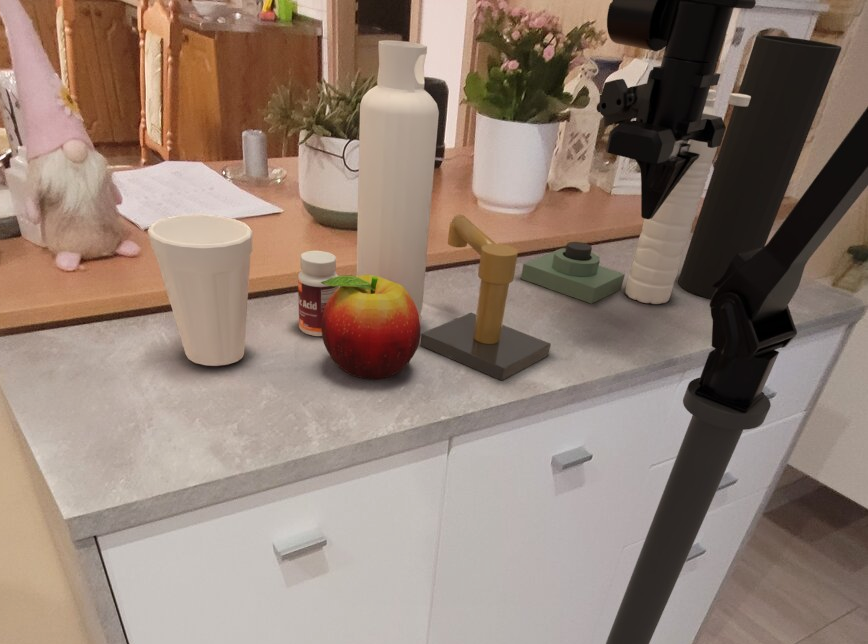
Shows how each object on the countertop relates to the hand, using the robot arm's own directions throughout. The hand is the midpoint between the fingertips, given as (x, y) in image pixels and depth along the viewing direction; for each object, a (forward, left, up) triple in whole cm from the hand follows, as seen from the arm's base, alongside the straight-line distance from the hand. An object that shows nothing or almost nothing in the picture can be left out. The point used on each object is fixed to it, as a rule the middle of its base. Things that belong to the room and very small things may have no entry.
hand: (646, 218), depth 87 cm
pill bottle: (+24, +32, -13) cm, 42 cm away
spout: (+12, +18, -5) cm, 22 cm away
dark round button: (+12, -8, -9) cm, 17 cm away
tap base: (+7, +21, -13) cm, 26 cm away
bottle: (+19, +25, -13) cm, 34 cm away
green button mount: (+12, -8, -13) cm, 19 cm away
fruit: (+13, +35, -13) cm, 40 cm away
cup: (+26, +46, -13) cm, 54 cm away
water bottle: (+1, -13, -13) cm, 19 cm away
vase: (-3, -25, -13) cm, 28 cm away
